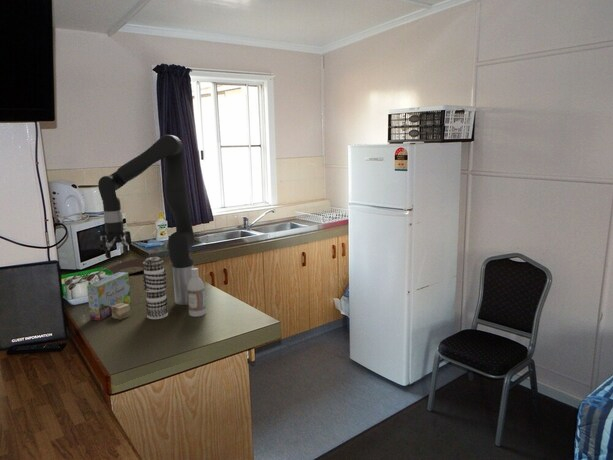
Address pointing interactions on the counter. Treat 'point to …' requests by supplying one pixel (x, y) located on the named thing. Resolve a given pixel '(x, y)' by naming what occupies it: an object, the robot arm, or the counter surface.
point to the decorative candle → (155, 288)
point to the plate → (129, 264)
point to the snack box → (108, 295)
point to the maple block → (120, 311)
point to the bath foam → (196, 295)
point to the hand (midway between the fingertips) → (117, 256)
